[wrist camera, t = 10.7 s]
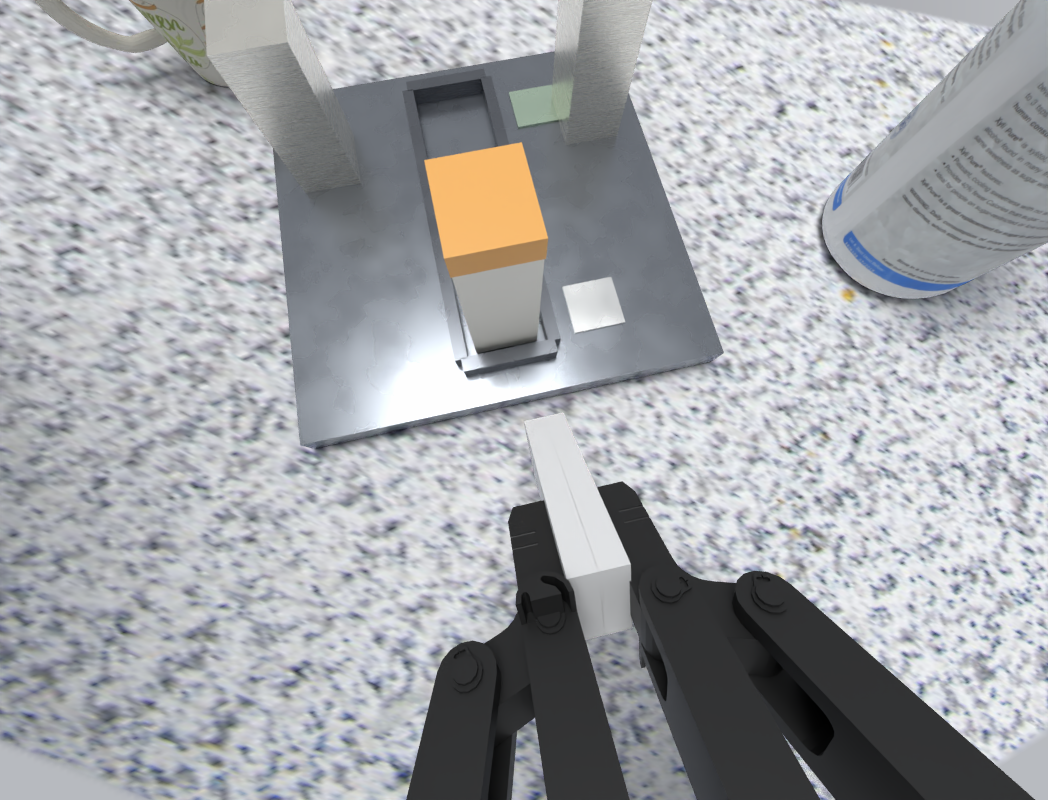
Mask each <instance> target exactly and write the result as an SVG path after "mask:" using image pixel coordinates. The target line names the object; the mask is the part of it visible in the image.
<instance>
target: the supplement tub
mask: <svg viewBox="0 0 1048 800" xmlns="http://www.w3.org/2000/svg"><path fill="white" fill-rule="evenodd" d="M822 229H823V235H824V239H825V242H826V245H827V247H828V249H829V251H830V253H831V255H832V256H833V258H834V259H835V260H836V262H837V263H838V264H839V265H840V266H841V268H842V269H843V270H844V271H845V272H846V273H847V274H848V275H849V276H850V277H852V278H853V279H854V280H855V281H857V282H858V283H860V284H861V285H863V286H865V287H867V288H869V289H871V290H873V291H876V292H878V293H881V294H884V295H888V296H892V297H898V298H906V299H919V298H928V297H933V296H937V295H940V294H943V293H946V292H948V291H951V290H953V289H955V288H957V287H959V286H961V285H963V284H965V283H967V282H969V281H971V280H973V279H975V278H977V277H979V276H981V275H983V274H985V273H987V272H989V271H991V270H993V269H995V268H997V267H1000V266H1002V265H1004V264H1006V263H1008V262H1010V261H1012V260H1014V259H1016V258H1018V257H1020V256H1022V255H1024V254H1026V253H1028V252H1030V251H1032V250H1034V249H1036V248H1038V247H1040V246H1042V245H1044V244H1046V243H1048V0H1020V1H1019V3H1017V4H1016V6H1014V8H1012V10H1010V12H1008V13H1007V14H1006V16H1004V18H1003V19H1002V20H1001V21H1000V22H999V23H998V24H997V25H996V26H995V27H994V28H993V29H992V30H991V31H990V32H989V33H988V34H987V35H986V36H985V37H984V38H983V39H982V40H981V41H980V42H979V43H978V44H977V45H976V46H975V47H974V48H973V49H972V50H971V51H970V52H969V53H968V54H967V55H966V56H965V57H964V58H963V59H962V60H961V61H960V62H959V63H958V64H957V65H956V66H955V67H954V69H953V70H952V71H951V72H950V73H949V74H948V75H947V76H946V77H945V78H944V79H943V80H942V81H941V82H940V83H939V84H938V85H937V86H936V87H935V88H934V89H933V90H932V91H931V92H930V93H929V94H928V95H927V96H926V97H925V98H924V99H923V100H922V101H921V102H920V103H919V104H918V105H917V106H916V107H915V108H914V109H913V110H912V111H911V112H910V113H909V114H908V115H907V116H906V117H905V118H904V119H903V120H902V121H901V122H900V123H899V124H898V125H897V126H896V127H895V128H894V130H893V131H892V132H891V133H890V134H889V135H888V136H887V137H886V138H885V139H884V140H883V141H882V142H881V143H880V144H879V145H878V146H877V147H876V148H875V149H874V150H873V151H872V152H871V153H870V154H869V155H868V156H867V157H866V158H865V159H864V160H863V161H862V162H861V163H860V164H859V165H858V166H857V167H856V168H855V169H854V170H853V171H852V172H851V173H850V174H849V175H848V176H847V177H846V178H845V179H844V180H843V181H842V182H841V183H840V184H839V185H838V186H837V187H836V189H835V190H834V191H833V193H832V194H831V196H830V197H829V199H828V201H827V203H826V206H825V208H824V213H823V219H822Z"/></svg>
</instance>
